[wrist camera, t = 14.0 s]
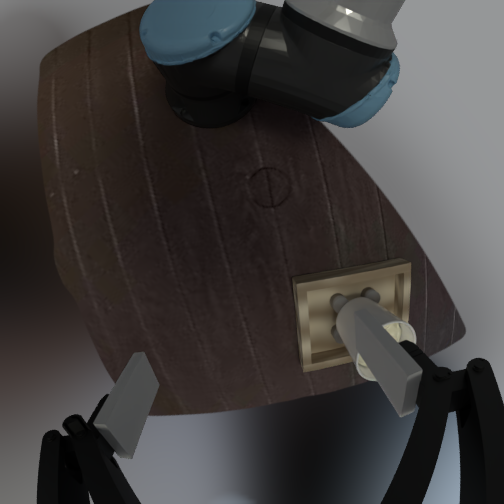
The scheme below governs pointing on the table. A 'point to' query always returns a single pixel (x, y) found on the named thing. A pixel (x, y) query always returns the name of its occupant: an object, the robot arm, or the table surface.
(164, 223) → the table surface
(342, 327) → the candle holder
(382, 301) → the peg frame
